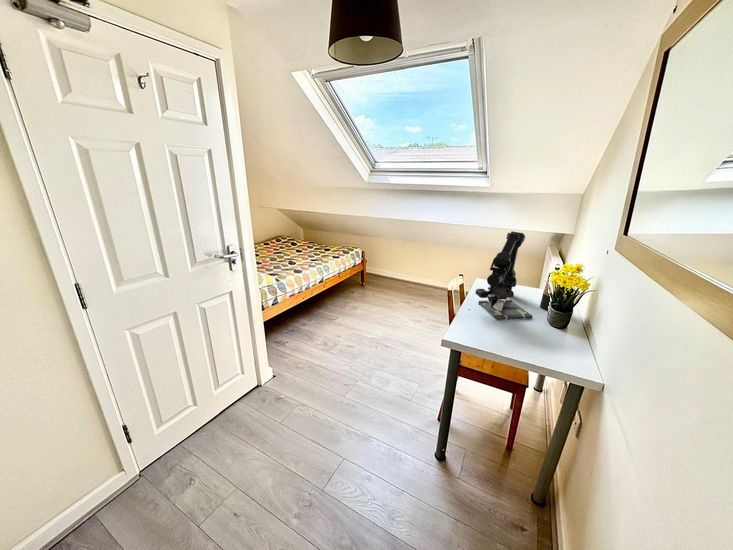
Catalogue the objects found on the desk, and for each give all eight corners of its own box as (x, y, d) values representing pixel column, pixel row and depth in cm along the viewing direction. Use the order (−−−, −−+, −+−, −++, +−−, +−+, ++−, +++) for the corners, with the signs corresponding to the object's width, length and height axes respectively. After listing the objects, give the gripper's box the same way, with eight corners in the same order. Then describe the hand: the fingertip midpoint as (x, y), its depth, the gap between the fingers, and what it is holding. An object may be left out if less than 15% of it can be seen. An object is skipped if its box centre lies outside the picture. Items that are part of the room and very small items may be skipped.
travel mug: (550, 305, 168) (561, 273, 161) (557, 312, 161) (568, 278, 154) (536, 304, 169) (546, 271, 162) (542, 310, 162) (553, 277, 155)
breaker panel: (480, 305, 164) (481, 302, 164) (512, 304, 168) (513, 301, 167) (494, 318, 151) (495, 315, 151) (529, 316, 155) (530, 313, 154)
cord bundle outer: (495, 318, 151) (495, 315, 151) (529, 316, 155) (530, 313, 154) (497, 320, 149) (498, 317, 149) (532, 318, 153) (533, 315, 152)
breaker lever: (492, 306, 160) (494, 297, 158) (496, 306, 161) (498, 297, 159) (497, 310, 156) (499, 302, 154) (501, 310, 156) (503, 301, 154)
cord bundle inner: (478, 303, 167) (478, 300, 166) (510, 302, 170) (510, 299, 169) (480, 305, 165) (480, 301, 164) (512, 304, 168) (513, 300, 167)
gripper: (489, 287, 143) (483, 315, 148) (524, 286, 146) (516, 314, 152) (477, 278, 153) (472, 305, 159) (510, 277, 156) (503, 304, 162)
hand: (491, 307), depth 157 cm, fingers closed
